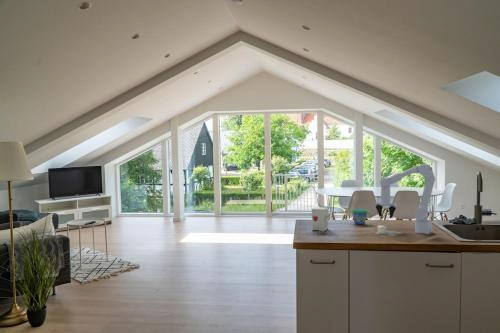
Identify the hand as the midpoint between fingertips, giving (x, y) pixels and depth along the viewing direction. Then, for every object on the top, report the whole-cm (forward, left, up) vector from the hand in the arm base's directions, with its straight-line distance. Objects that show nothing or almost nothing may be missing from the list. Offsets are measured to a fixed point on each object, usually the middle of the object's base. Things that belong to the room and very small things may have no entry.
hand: (385, 217), depth 277 cm
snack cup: (+29, -14, -10) cm, 34 cm away
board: (-8, +10, -9) cm, 15 cm away
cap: (-4, +13, -8) cm, 16 cm away
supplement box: (+35, +24, -10) cm, 44 cm away
